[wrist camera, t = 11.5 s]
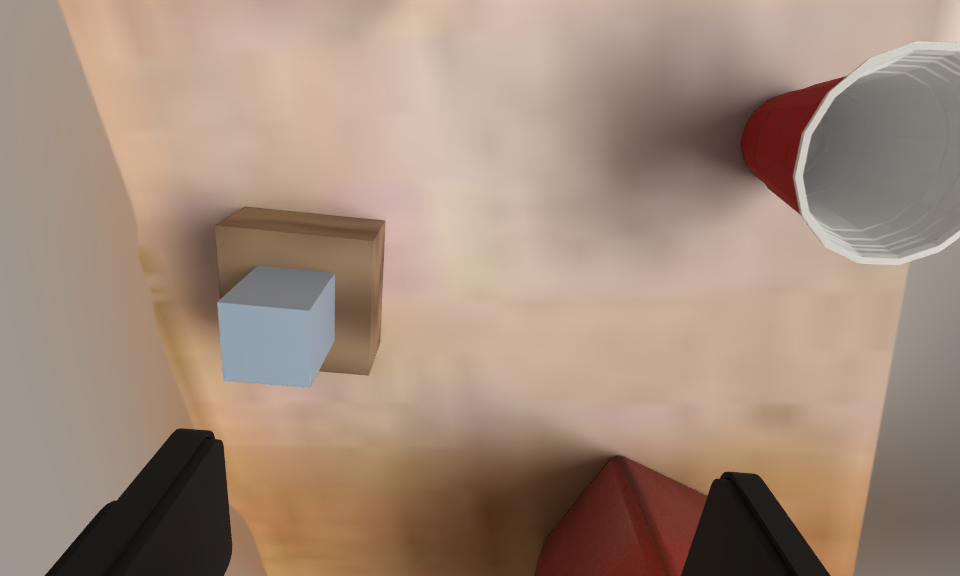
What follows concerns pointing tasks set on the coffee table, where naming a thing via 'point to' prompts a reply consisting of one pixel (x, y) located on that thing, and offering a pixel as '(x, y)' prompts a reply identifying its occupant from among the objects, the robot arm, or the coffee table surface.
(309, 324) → the slate block
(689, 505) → the plant pot
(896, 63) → the plastic cup
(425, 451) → the coffee table surface
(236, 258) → the walnut plinth
